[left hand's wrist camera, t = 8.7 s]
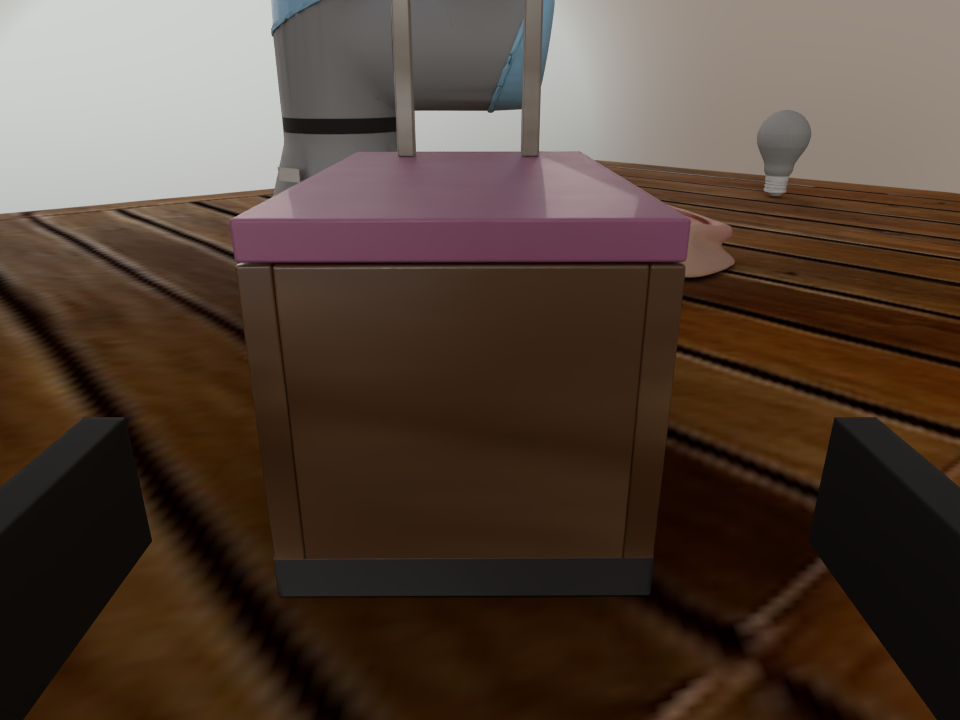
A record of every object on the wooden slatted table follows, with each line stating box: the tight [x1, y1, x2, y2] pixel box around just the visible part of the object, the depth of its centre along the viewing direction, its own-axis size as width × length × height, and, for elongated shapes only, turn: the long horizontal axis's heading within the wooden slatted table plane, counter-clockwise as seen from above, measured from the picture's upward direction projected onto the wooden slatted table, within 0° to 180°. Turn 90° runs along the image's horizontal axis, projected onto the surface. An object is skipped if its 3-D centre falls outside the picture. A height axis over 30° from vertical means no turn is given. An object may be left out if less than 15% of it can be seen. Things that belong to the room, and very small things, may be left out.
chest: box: [236, 262, 686, 596], centre depth 24 cm, size 16×10×9 cm, turn 0°
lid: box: [230, 0, 691, 263], centre depth 21 cm, size 17×10×8 cm, turn 0°
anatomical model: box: [668, 205, 735, 278], centre depth 54 cm, size 13×4×12 cm
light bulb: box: [757, 110, 811, 196], centre depth 84 cm, size 6×6×10 cm
